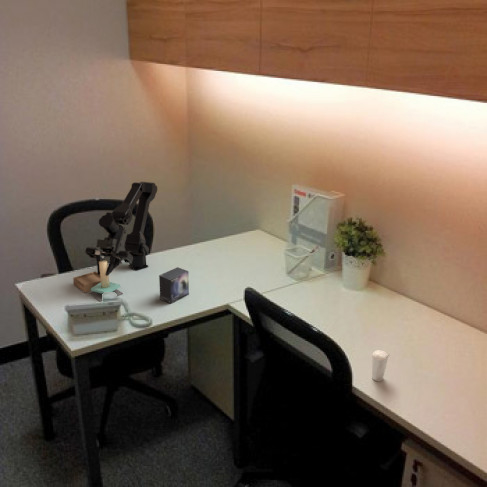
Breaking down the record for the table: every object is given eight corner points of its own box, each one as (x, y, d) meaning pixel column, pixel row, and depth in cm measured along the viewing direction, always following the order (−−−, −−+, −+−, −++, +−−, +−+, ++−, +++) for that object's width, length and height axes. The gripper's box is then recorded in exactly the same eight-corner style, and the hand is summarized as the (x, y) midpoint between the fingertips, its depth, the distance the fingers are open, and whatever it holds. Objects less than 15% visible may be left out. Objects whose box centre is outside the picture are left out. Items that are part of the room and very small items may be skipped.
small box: (171, 304, 208) (170, 279, 204) (159, 299, 211) (157, 275, 208) (190, 294, 216) (189, 270, 212) (178, 290, 219) (177, 266, 215)
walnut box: (96, 278, 229) (95, 271, 228) (107, 286, 222) (107, 278, 221) (73, 285, 223) (72, 277, 222) (85, 293, 216) (84, 285, 215)
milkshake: (380, 386, 160) (383, 357, 157) (366, 377, 165) (369, 348, 161) (390, 380, 163) (394, 352, 159) (376, 372, 167) (380, 344, 163)
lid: (104, 282, 220) (101, 256, 216) (120, 286, 217) (118, 260, 212) (90, 290, 213) (88, 263, 209) (107, 294, 210) (104, 267, 206)
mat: (111, 286, 222) (111, 285, 222) (123, 294, 215) (123, 293, 215) (89, 293, 216) (89, 292, 215) (100, 301, 209) (100, 300, 209)
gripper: (84, 227, 212) (71, 264, 206) (127, 232, 207) (115, 270, 202) (96, 239, 222) (84, 274, 216) (138, 244, 217) (127, 280, 211)
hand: (102, 274), depth 211 cm, fingers closed on lid, 3 cm apart
